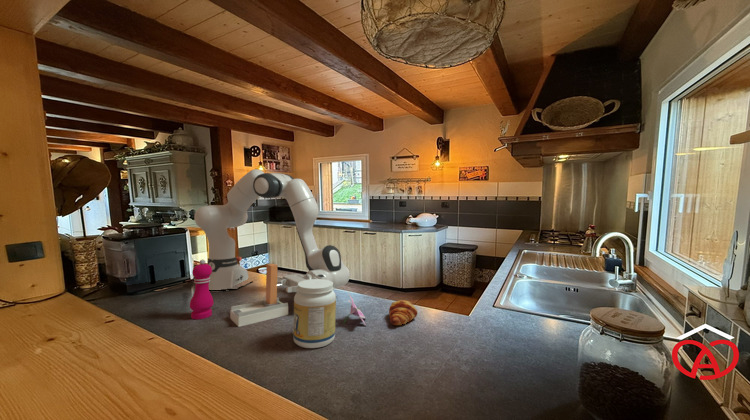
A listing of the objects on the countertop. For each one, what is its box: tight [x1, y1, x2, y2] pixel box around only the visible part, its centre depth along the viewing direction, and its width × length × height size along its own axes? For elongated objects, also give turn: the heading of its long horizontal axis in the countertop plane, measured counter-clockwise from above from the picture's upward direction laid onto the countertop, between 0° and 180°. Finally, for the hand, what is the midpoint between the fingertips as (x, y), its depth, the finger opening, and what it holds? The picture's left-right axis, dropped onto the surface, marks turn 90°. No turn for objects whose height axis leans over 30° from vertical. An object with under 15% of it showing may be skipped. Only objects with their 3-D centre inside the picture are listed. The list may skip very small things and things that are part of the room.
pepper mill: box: [189, 259, 215, 320], centre depth 102 cm, size 7×7×20 cm
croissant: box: [388, 299, 418, 326], centre depth 105 cm, size 21×10×8 cm, turn 160°
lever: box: [263, 263, 280, 307], centre depth 105 cm, size 4×6×15 cm, turn 42°
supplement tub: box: [292, 279, 337, 349], centre depth 86 cm, size 12×12×17 cm
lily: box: [342, 292, 366, 325], centre depth 99 cm, size 12×12×10 cm
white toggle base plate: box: [229, 296, 289, 328], centre depth 103 cm, size 17×9×4 cm, turn 132°
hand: (281, 287), depth 108 cm, fingers open, 8 cm apart
